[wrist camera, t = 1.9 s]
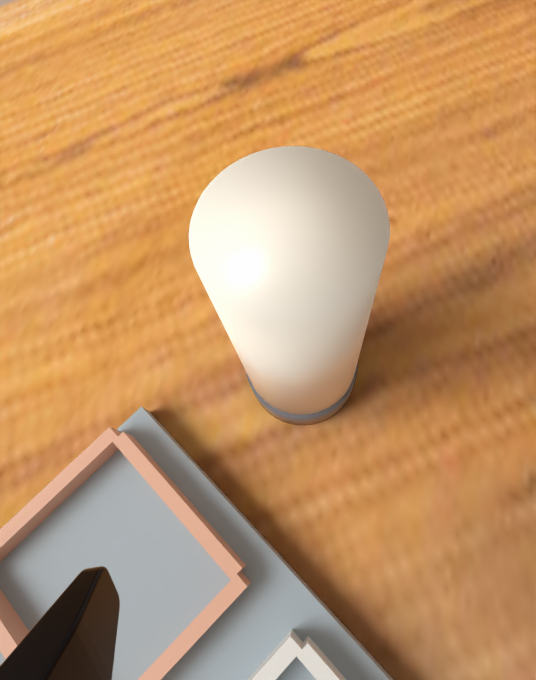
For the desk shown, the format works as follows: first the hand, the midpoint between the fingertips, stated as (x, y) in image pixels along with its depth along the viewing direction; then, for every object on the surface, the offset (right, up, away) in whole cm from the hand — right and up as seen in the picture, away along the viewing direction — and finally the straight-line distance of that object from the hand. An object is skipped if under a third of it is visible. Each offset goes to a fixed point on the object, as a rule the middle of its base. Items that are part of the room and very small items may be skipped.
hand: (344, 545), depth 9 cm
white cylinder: (0, +2, +15) cm, 15 cm away
